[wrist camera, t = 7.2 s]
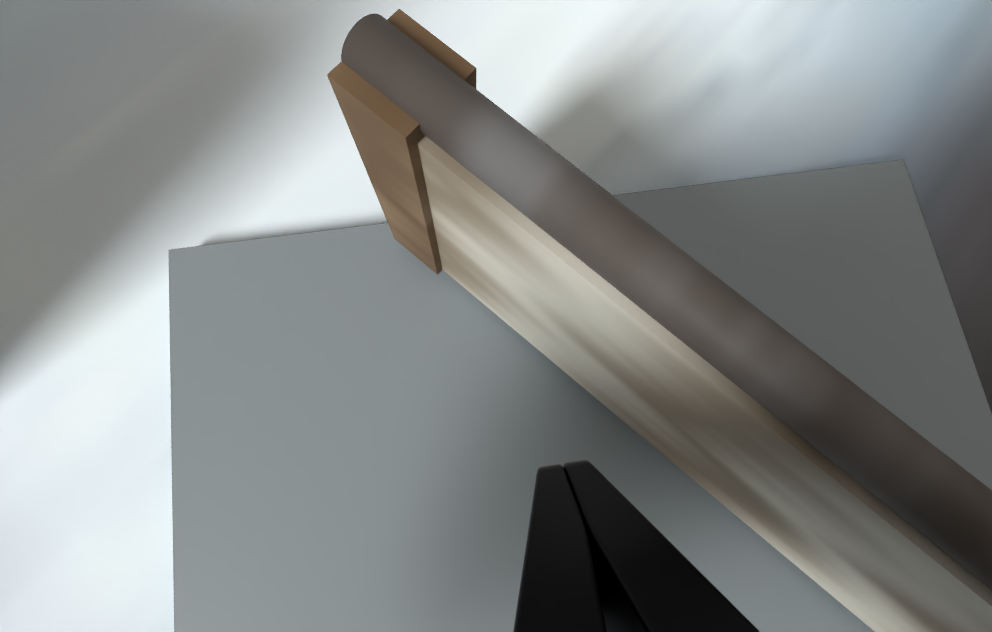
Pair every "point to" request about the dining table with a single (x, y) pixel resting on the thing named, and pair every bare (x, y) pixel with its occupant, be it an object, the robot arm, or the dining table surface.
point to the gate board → (508, 410)
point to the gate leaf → (666, 342)
